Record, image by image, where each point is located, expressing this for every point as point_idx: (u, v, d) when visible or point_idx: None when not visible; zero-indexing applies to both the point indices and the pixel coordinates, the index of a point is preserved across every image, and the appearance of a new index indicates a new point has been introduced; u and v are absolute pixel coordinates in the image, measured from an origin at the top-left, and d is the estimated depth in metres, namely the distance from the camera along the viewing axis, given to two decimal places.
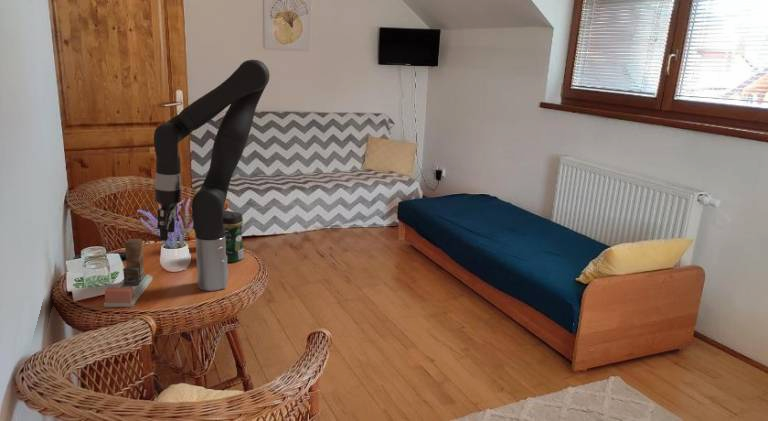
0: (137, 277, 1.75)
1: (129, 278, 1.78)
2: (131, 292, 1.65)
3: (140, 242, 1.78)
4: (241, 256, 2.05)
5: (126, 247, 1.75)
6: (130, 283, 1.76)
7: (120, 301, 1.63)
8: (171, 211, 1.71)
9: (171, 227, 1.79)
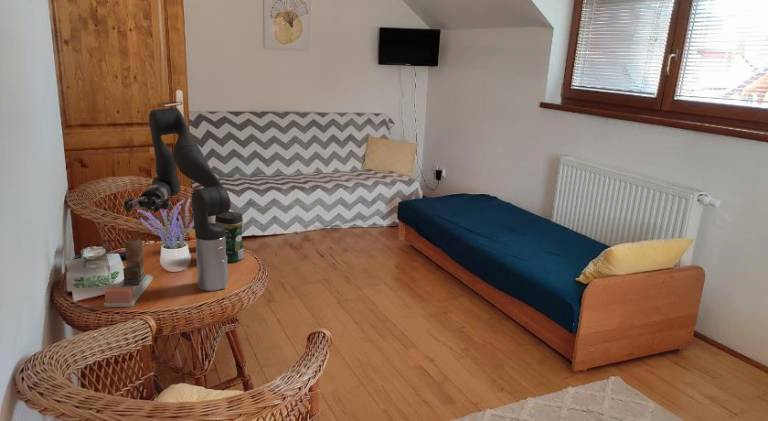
0: (137, 277, 1.75)
1: (129, 278, 1.78)
2: (131, 292, 1.65)
3: (140, 242, 1.78)
4: (241, 256, 2.05)
5: (126, 247, 1.75)
6: (130, 283, 1.76)
7: (120, 301, 1.63)
8: None
9: None
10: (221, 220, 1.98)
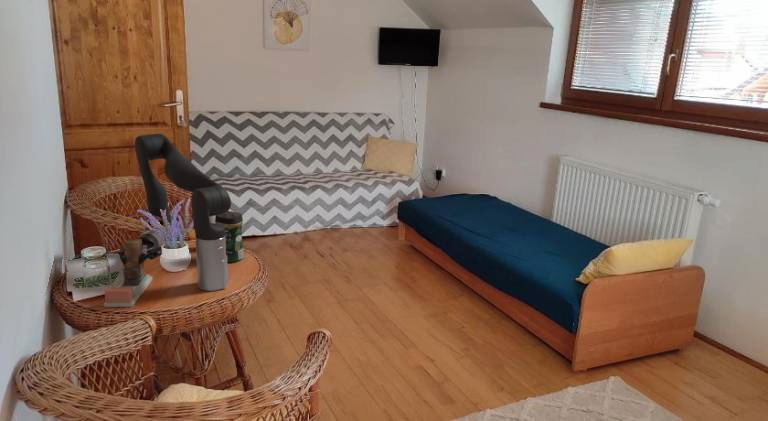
0: (137, 277, 1.75)
1: (129, 278, 1.78)
2: (131, 292, 1.65)
3: (140, 242, 1.78)
4: (241, 256, 2.05)
5: (126, 247, 1.75)
6: (130, 283, 1.75)
7: (120, 301, 1.63)
8: None
9: None
10: (221, 220, 1.98)
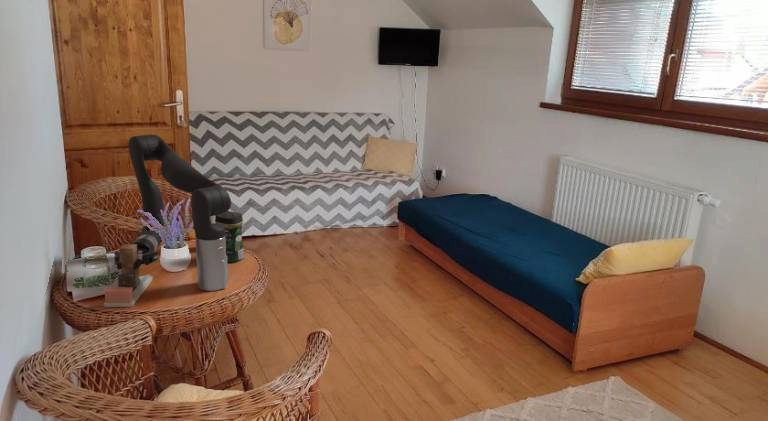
0: (132, 283, 1.70)
1: (124, 284, 1.73)
2: (131, 292, 1.65)
3: (135, 247, 1.73)
4: (241, 256, 2.05)
5: (121, 252, 1.70)
6: None
7: (120, 301, 1.63)
8: None
9: None
10: (221, 220, 1.98)
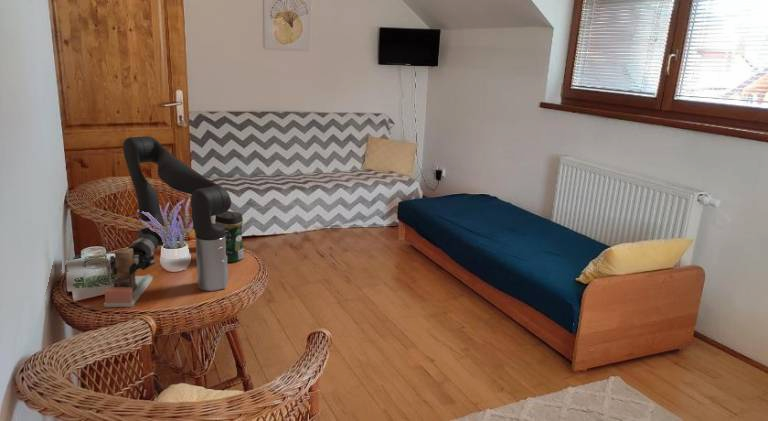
0: None
1: None
2: (131, 292, 1.65)
3: (131, 251, 1.69)
4: (241, 256, 2.05)
5: (116, 257, 1.66)
6: None
7: (120, 301, 1.63)
8: None
9: None
10: (221, 220, 1.98)
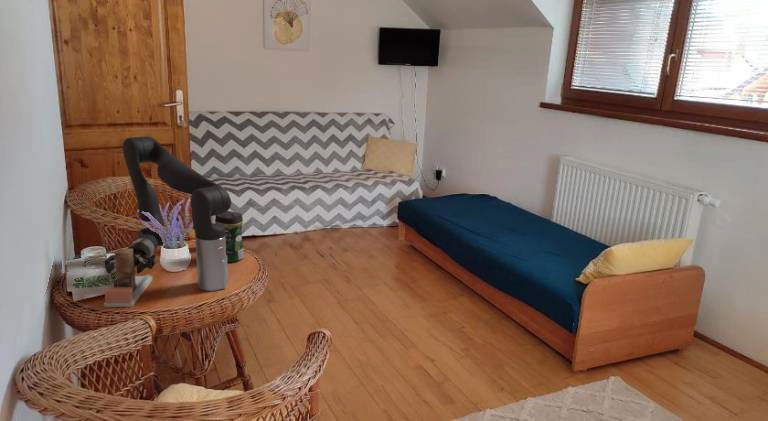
0: None
1: None
2: (131, 292, 1.65)
3: (131, 251, 1.69)
4: (241, 256, 2.05)
5: (116, 257, 1.66)
6: None
7: (120, 301, 1.63)
8: None
9: None
10: (221, 220, 1.98)
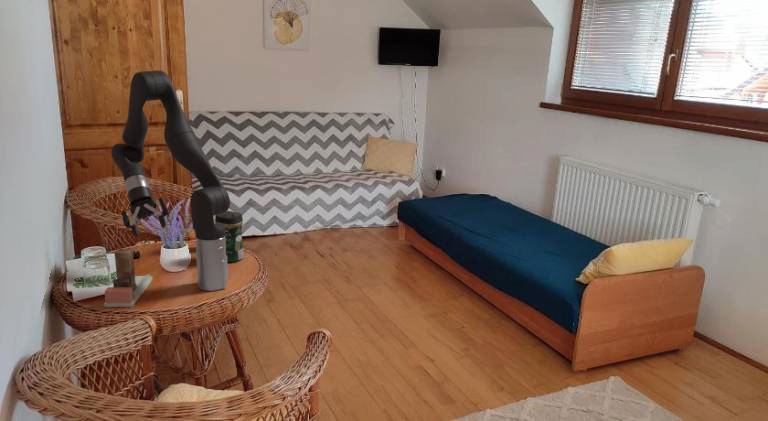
0: None
1: None
2: (131, 292, 1.65)
3: (131, 251, 1.69)
4: (241, 256, 2.05)
5: (116, 257, 1.66)
6: None
7: (120, 301, 1.63)
8: None
9: None
10: (221, 220, 1.98)
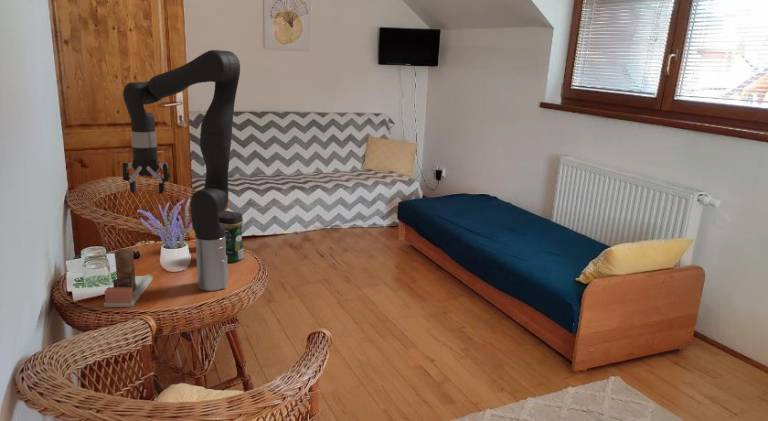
0: None
1: None
2: (131, 292, 1.65)
3: (131, 251, 1.69)
4: (241, 256, 2.05)
5: (116, 257, 1.66)
6: None
7: (120, 301, 1.63)
8: (137, 167, 1.79)
9: None
10: (221, 220, 1.98)
